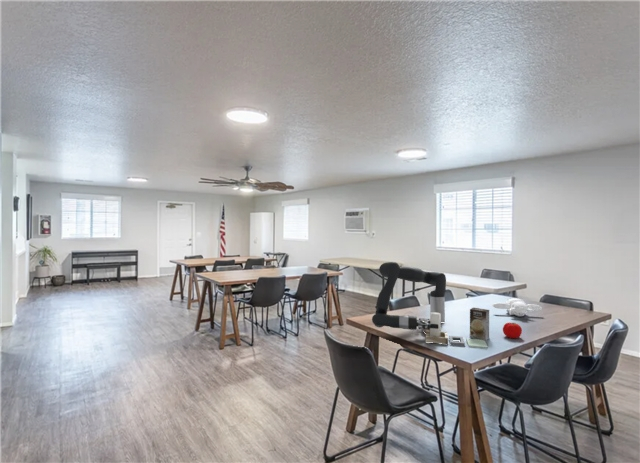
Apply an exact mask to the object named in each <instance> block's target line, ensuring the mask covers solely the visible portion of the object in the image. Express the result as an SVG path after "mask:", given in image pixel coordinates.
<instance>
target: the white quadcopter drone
mask: <svg viewBox="0 0 640 463" xmlns="http://www.w3.org/2000/svg"><path fill="white" fill-rule="evenodd" d="M492 307H493V308H494V309H497V310H498V309H499V310H507V311H508V312H509V313H508V314H509V316H514V315H515V316H517V317H523V316H525V315H526V313H527V312H533V311H541V310H542V309H543V308H542V306H541V305H538V304H530V303H529V304H527V303H526V302H525V301H524V300H523V299H520V298H516V297H512V298H509V299H507V300H506V301H505V302H495V303H493V304H492Z"/></svg>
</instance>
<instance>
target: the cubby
mask: <svg viewBox="0 0 640 463" xmlns="http://www.w3.org/2000/svg"><path fill="white" fill-rule="evenodd" d="M426 342H433V343H442V344H448V345H449V338H448V332H447V331H441V337H431V336H430V331H426V334H425V343H426Z"/></svg>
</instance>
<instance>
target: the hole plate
mask: <svg viewBox="0 0 640 463" xmlns="http://www.w3.org/2000/svg"><path fill="white" fill-rule="evenodd" d="M449 339H450V340H449ZM448 340H449V344H451V345H450V346H454V345H458V346H457V347H465V344H466V343H465V340H464V337H463V336H457V335H456V336H455V335H449V338H448ZM453 340H460V342H459V341H453Z"/></svg>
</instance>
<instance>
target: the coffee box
mask: <svg viewBox="0 0 640 463" xmlns="http://www.w3.org/2000/svg"><path fill="white" fill-rule="evenodd" d="M469 338H471V339H478V340H485V341H488V339H489V338H490V309H485V308H479V307H472V308H470V309H469Z"/></svg>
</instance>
